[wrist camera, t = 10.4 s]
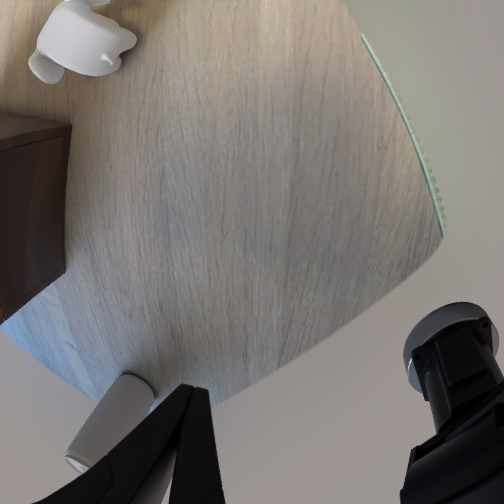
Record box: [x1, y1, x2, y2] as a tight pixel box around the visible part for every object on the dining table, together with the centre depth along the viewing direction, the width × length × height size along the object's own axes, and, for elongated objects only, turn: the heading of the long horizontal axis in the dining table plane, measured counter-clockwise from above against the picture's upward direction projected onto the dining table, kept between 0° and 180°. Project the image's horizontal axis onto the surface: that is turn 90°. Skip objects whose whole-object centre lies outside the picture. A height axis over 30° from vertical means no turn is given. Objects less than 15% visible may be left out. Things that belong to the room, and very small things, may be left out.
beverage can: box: [64, 374, 154, 474], centre depth 25 cm, size 5×5×12 cm
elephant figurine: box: [28, 0, 137, 84], centre depth 14 cm, size 7×8×6 cm
